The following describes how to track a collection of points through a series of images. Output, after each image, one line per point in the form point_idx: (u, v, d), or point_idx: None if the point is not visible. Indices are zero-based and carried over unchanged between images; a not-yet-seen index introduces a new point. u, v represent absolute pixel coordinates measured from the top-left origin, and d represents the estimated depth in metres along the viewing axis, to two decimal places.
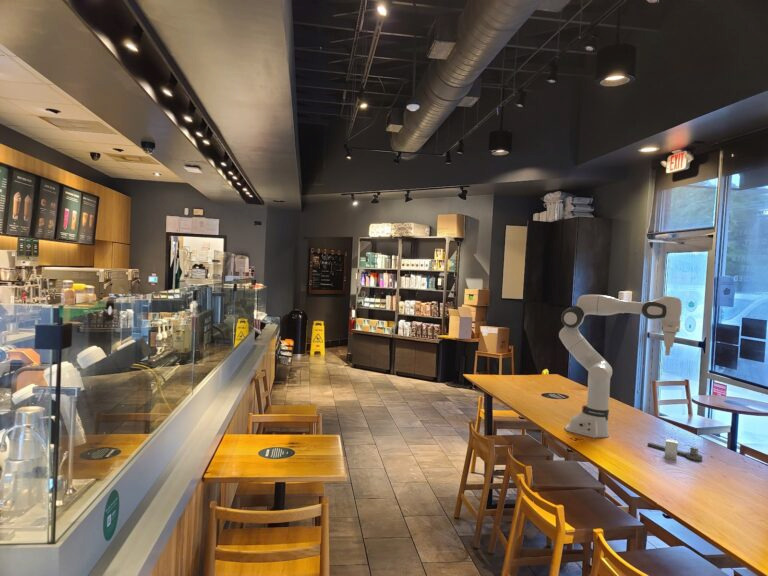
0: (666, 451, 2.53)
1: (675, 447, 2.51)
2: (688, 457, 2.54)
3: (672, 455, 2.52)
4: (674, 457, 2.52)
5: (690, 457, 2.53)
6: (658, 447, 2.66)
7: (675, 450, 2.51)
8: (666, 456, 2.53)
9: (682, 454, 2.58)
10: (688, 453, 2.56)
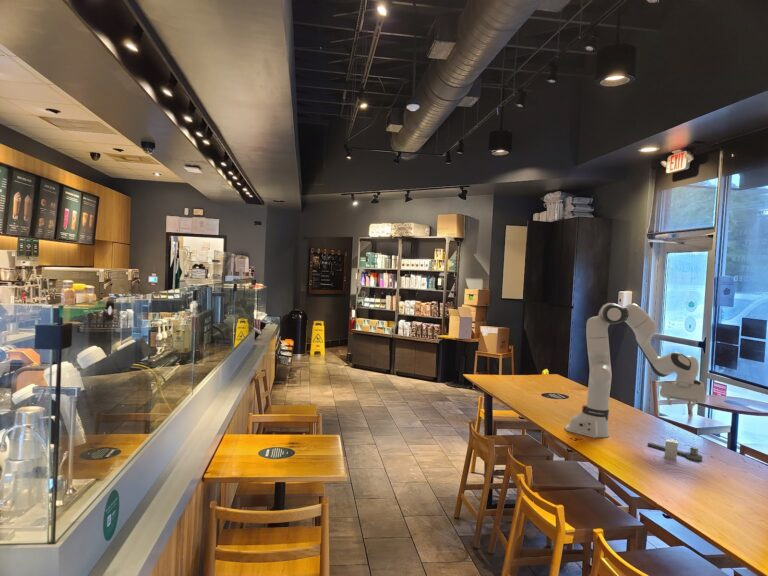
0: (666, 451, 2.53)
1: (675, 447, 2.51)
2: (688, 457, 2.54)
3: (672, 455, 2.52)
4: (674, 457, 2.52)
5: (690, 457, 2.53)
6: (658, 447, 2.66)
7: (675, 450, 2.51)
8: (666, 456, 2.53)
9: (682, 454, 2.58)
10: (688, 453, 2.56)
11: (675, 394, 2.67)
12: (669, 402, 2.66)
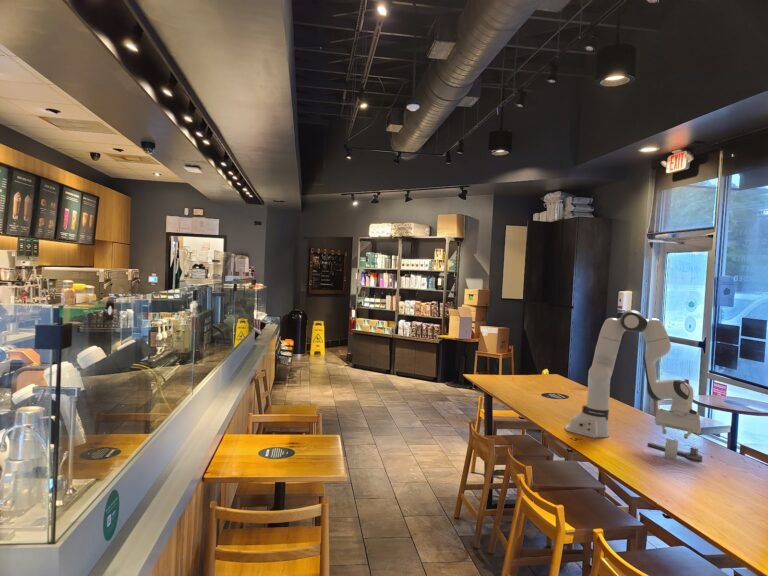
0: (666, 451, 2.53)
1: (675, 447, 2.51)
2: (688, 457, 2.54)
3: (672, 455, 2.52)
4: (674, 457, 2.52)
5: (690, 457, 2.53)
6: (658, 447, 2.66)
7: (675, 450, 2.51)
8: (666, 456, 2.53)
9: (682, 454, 2.58)
10: (688, 453, 2.56)
11: (670, 423, 2.62)
12: (664, 431, 2.62)
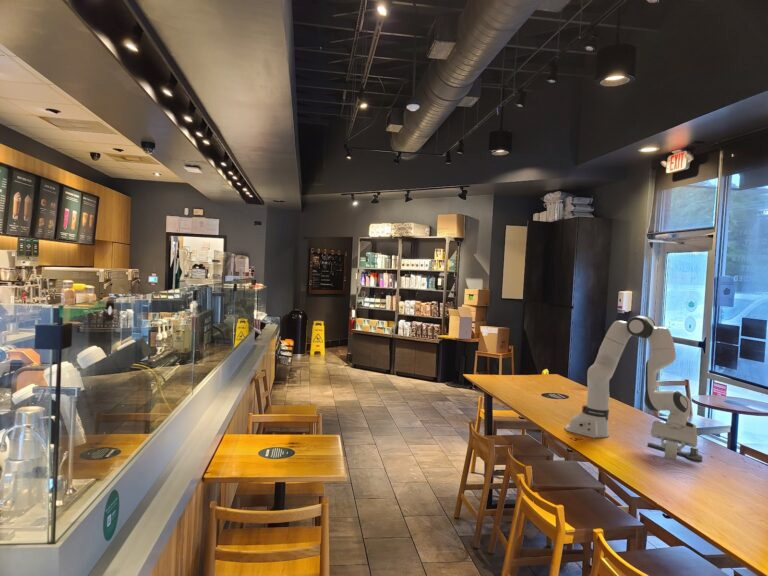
0: (666, 451, 2.53)
1: (675, 447, 2.51)
2: (688, 457, 2.54)
3: (672, 455, 2.52)
4: (674, 457, 2.52)
5: (690, 457, 2.53)
6: (658, 447, 2.66)
7: (675, 450, 2.51)
8: (666, 456, 2.53)
9: (682, 454, 2.58)
10: (688, 453, 2.56)
11: (666, 435, 2.57)
12: (663, 444, 2.56)
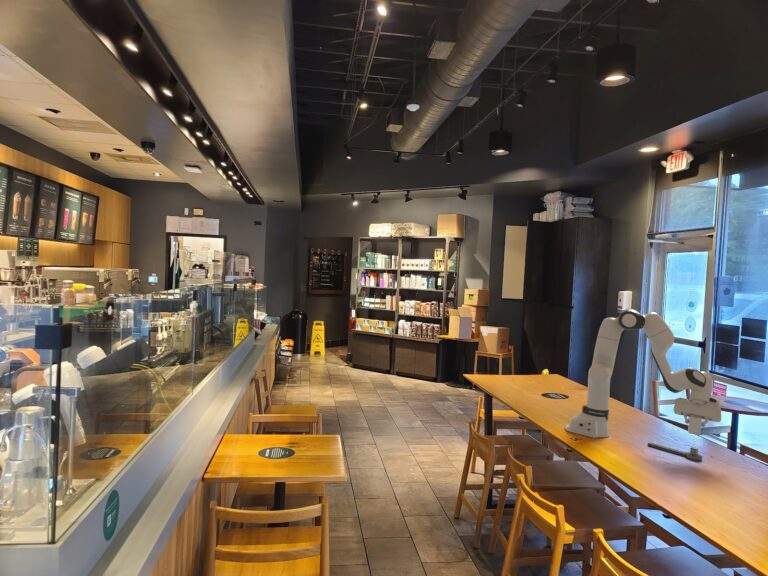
0: (690, 427, 2.53)
1: (699, 422, 2.51)
2: (688, 457, 2.54)
3: (696, 430, 2.52)
4: (698, 432, 2.51)
5: (690, 457, 2.53)
6: (658, 447, 2.66)
7: (699, 425, 2.51)
8: (690, 432, 2.53)
9: (682, 454, 2.58)
10: (688, 453, 2.56)
11: (690, 411, 2.57)
12: (686, 420, 2.56)
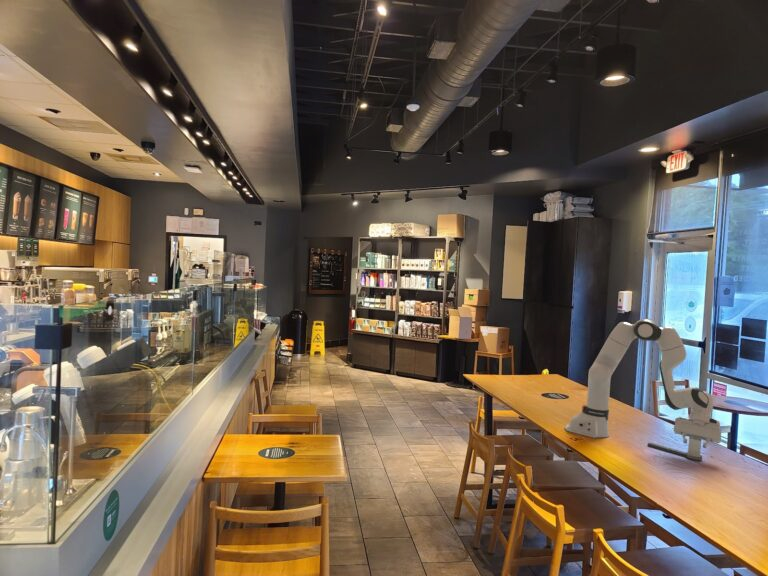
0: (689, 449, 2.54)
1: (698, 445, 2.52)
2: (688, 457, 2.54)
3: (695, 452, 2.53)
4: (697, 455, 2.52)
5: (690, 457, 2.53)
6: (658, 447, 2.66)
7: (698, 448, 2.52)
8: (689, 454, 2.54)
9: (682, 454, 2.58)
10: None
11: (690, 432, 2.58)
12: (685, 440, 2.57)
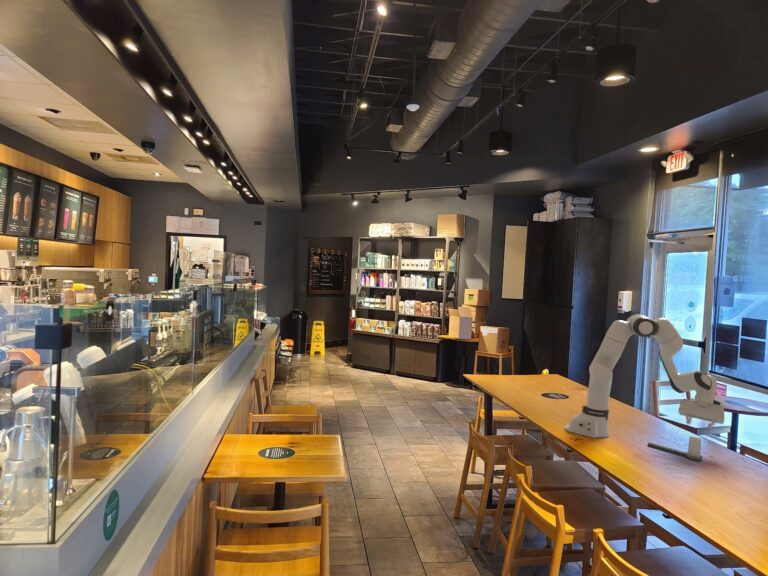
0: (689, 449, 2.54)
1: (699, 445, 2.52)
2: (688, 457, 2.54)
3: (695, 452, 2.53)
4: (697, 455, 2.52)
5: (690, 457, 2.53)
6: (658, 447, 2.66)
7: (699, 448, 2.52)
8: (689, 454, 2.54)
9: (682, 454, 2.58)
10: None
11: (694, 413, 2.68)
12: (688, 421, 2.67)
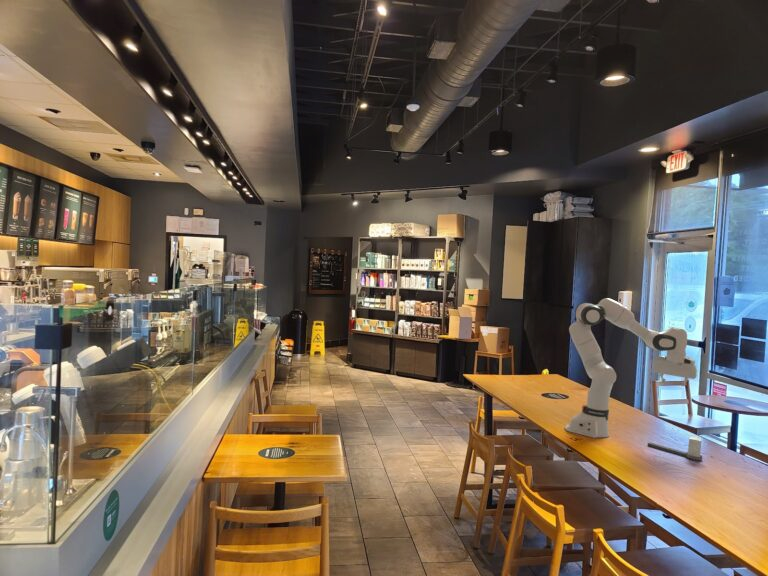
0: (689, 449, 2.54)
1: (699, 445, 2.52)
2: (688, 457, 2.54)
3: (695, 452, 2.53)
4: (697, 455, 2.52)
5: (690, 457, 2.53)
6: (658, 447, 2.66)
7: (699, 448, 2.52)
8: (689, 454, 2.54)
9: (682, 454, 2.58)
10: None
11: (668, 373, 2.79)
12: (663, 381, 2.81)
